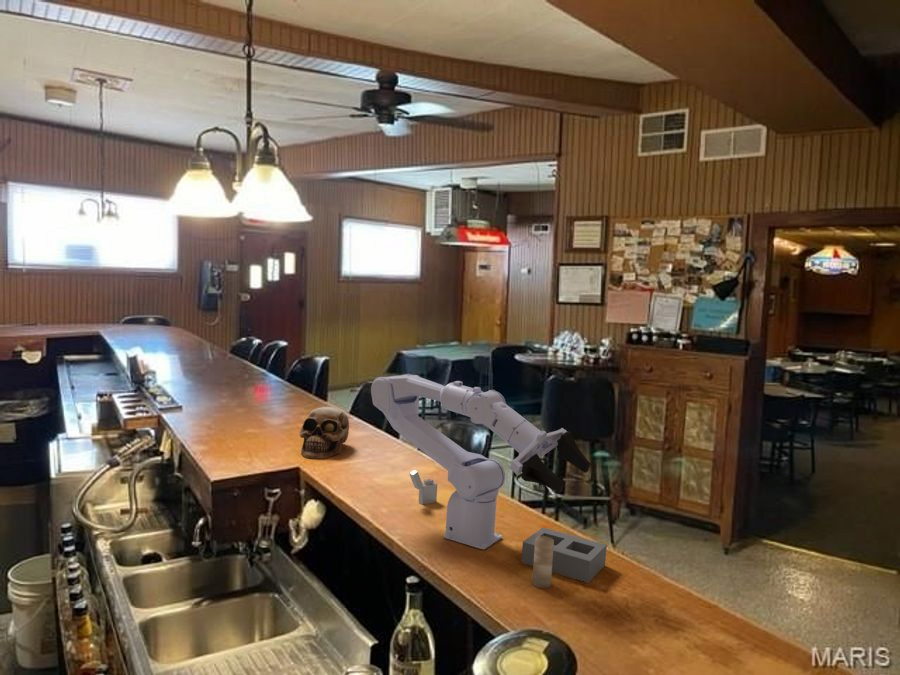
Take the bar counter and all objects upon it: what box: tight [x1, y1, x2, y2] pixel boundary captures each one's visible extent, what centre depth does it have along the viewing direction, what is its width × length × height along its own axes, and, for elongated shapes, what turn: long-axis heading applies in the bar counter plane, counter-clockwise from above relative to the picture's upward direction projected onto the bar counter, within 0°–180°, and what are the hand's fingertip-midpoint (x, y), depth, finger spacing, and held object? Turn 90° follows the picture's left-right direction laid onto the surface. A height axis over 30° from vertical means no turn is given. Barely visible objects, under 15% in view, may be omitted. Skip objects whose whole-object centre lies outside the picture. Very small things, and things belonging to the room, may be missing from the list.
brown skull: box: [299, 406, 350, 460], centre depth 189 cm, size 16×17×13 cm
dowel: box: [531, 536, 554, 589], centre depth 112 cm, size 3×3×8 cm
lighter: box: [408, 469, 438, 505], centre depth 149 cm, size 7×2×8 cm, turn 127°
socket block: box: [520, 527, 608, 584], centre depth 121 cm, size 13×9×4 cm
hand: (575, 478), depth 115 cm, fingers open, 7 cm apart
